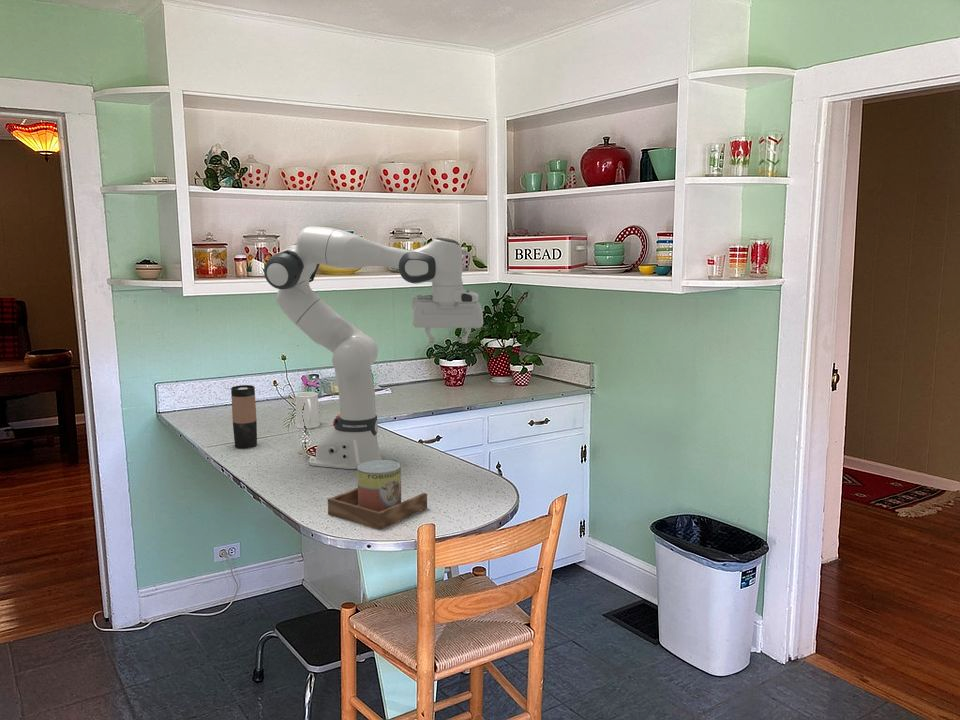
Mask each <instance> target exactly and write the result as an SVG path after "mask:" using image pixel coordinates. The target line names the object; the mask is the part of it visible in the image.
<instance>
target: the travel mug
mask: <svg viewBox="0 0 960 720" xmlns="http://www.w3.org/2000/svg"><path fill="white" fill-rule="evenodd" d="M255 389H256V388H255V386H254V385H250V384H241V385H236V386H232V387H231V388H230V393H231V411H232V412H231V414H232V418H231V419H232V426H233V428H232V429H233V430H232V431H233V438H234V439H233V441H234V446H235V447H234V448H235V449H239V450H240V449H241V450H244V449H246V450H247V449H252V448H255V447H257V445H258V431H257V430H258V428H257V427H258V425H257V423H258V421H257V420H258V419H257V405H256V404H257V403H256V391H255Z"/></svg>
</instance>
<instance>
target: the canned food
mask: <svg viewBox="0 0 960 720" xmlns="http://www.w3.org/2000/svg"><path fill="white" fill-rule="evenodd" d="M401 467H402V464H401V463H400V462H398V461H395V460H391V459H382V460H371V461H366V462H363V463H360V464H359V465H358V466H357V468H356V477H357V478H356V479H357V488H358V504H357V506H360V507H364V508H367V509H371V510H375V511H378V512H380V511H382V510H385V509H387V508H389V507H392V506H394V505H397V504H399V503H401V502H402V472H401Z"/></svg>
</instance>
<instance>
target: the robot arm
mask: <svg viewBox="0 0 960 720" xmlns="http://www.w3.org/2000/svg"><path fill="white" fill-rule="evenodd" d="M462 251H463V250H462V246H461V244H460V243H459V242H458V241H457V240H455V239H452V238H451V239H450V238H446V237H435V238H434V239H432V240H431V241H430V242H428V243H427V244H425V245H423V246H421V247H419V248H416V249H411V250H410V249H405V248H400V247H396V246H391V245H387V244H386V245H385V244H381V243H379V242H375V241H373V240H369V239H368V238H364V237H362V236H360V235H357V234H355V233H353V232H349V231H346V230H344V229H343V230H342V229H338V228H335V227H334V228H333V227H327V226H315V225H314V226H306V227H304V228H302V229H301V230H300V232H299V234H298V235H297V237H296V243H294V244H292V245H289V246H287V247H284V248H283V249H281V250H280V251H279V252H277V253H275V254H273V255H272V256H271V257H269V259H268V260H267V261H266V263H265V264H264V268H263V275H264V278H265V280H266V282H267V283H268V284H269V285H270V286H271V287H272V288H275V289H277V290H278V291H277V293H276V296H275V300H276V303H277V305H278V306H279V308H280V309H281V310H282V312H283V313H284V314H285V315H286V316H287V317H288V318H289V320H290V321H291V322H292V323H294V325H296V326H297V327H298V328H299V329H300V330H301V331H302V332H303V333H304V334H305V335H306V336H308V338H310V339H311V341H313V342H314V343H315V344H317V345H319V346H322V347H324V348H325V349H326V350H328V351H330V352H331V353H333V354H332V357H331V358H332V360H331V362H332V366H333V369H334V374H335V375H334V376H335V380H336V384H337V389H338V402H339V403H338V404H339V414H337V415H336V416H335V418H334V419H333V421H332V426H333V429H331V430H330V431H329V432H328V433H326V435H324V436H323V437H322V438H320V440H319V441H318V443H317V445H316V451H315V453H316V457H313V456H312V455H311V456H310V457H309V459H308V464H309V465H310V466H314V467H324V468H334V469H335V468H336V469H344V470H345V469H346V470H357V466H358V465H359V464H360V463H363V462H366V461H371V460H383V457H382V454H381V449H380V447H379V445H380V444H379V441H378V432H379V428H378V427H379V425H378V424H379V423H378V422H379V421H378V415H377V413H376V390H375V387H374V382H373V378H372V369H371V368H372V365H373V364H374V363H375V362H376V360H377V358H378V345H377V343H376V341H375V340H374V339H373V338H372V337H370V336H369V335H367V334H366V333H365V332H363V331H361V330H360V329H359V328H357V326H355V325H353V324H352V323H351V322H350V321H348V320H346V319H345V318H344V317H342V316H341V315H340V314H339V313H337V312H336V311H335V310H334V309H333V308H332V307H331V306H330V305H329V304H328V303H327V302H326V301H324V300H323V299H322V298H321V296H319V295H318V294H317V293H315V291H313V289H312V288H311V285H310V283H311V282H314V280H315V277H316V274H317V272H318V271H319V267H320V265H323V266H327V267H328V266H329V267H330V268H331V267H332V268H338V269H350V270H351V269H360V268H366V267H385V268H390V269H395V270H398V272H399V275H400V276H401V278H402V279H403V280H404V281H406V282H408V283H410V284H415V285H417V284H423V283H428V282H429V283H430V282H431V294H427V295H422V294H421V295H420V294H419V295H418V294H417V296H414V297H413V298H412V299H411V300H412V301H411V307H412V309H413V312H412V313H413V314H412V325H413V327H414V328H420V329H422V328H423V329H424V332H425V334H426V335H427V337H428V343H429V344H435V343H436V340H435V339H436V336H434V335H432V333H431V330H432V328H433V329H437V328H438V329H439V328H442V329H443V328H445V329H451V328H452V329H464V330H465V332H466V334H465V336H462V337H461V344H467V343H468V337H469V335H470V334H471V332H472V329H480V328H481V327H483V325H484V315H483V308H482V305H481V303H480V302H479V299H480V298H479V297H480V295H479V293H478V292H474V291H471V290H469V289H468V290H467V289H464V281H463V279H462V276H463V275H462V274H463V270H464V266H463V264H464V263H463V262H464V261H463V252H462Z"/></svg>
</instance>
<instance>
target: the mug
mask: <svg viewBox="0 0 960 720" xmlns="http://www.w3.org/2000/svg"><path fill="white" fill-rule="evenodd" d="M318 395H319V393H318V392H317V391H316V392H314V391H302V392H298V393H295V395H294V397H295V418H296V419H295V420H296V423H295V428H297V429H301V430H302V429H303V430H305V429H304V422H305V426H306V428H307V429H315V428H318V427H320V426H321V424H320V420H319V419H320V418H319V417H320V415H319V414H320V413H319V396H318ZM304 403H305V406H304ZM303 406H304V410H303V418H302V408H303ZM303 419H304V422H303ZM307 429H306V430H307Z"/></svg>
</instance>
